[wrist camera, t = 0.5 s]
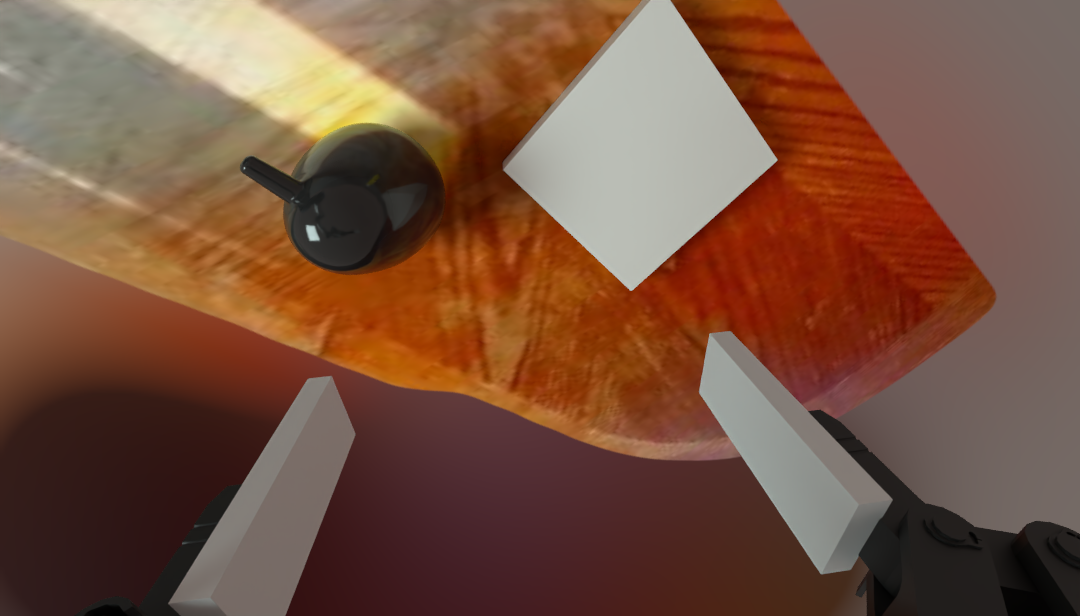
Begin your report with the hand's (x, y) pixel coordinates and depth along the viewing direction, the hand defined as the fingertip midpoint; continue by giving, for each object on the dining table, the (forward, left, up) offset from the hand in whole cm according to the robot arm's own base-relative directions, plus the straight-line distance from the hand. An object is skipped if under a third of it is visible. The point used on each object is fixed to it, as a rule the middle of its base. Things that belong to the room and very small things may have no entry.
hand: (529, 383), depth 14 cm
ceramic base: (+5, +10, -26) cm, 28 cm away
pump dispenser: (-9, -6, -26) cm, 28 cm away
